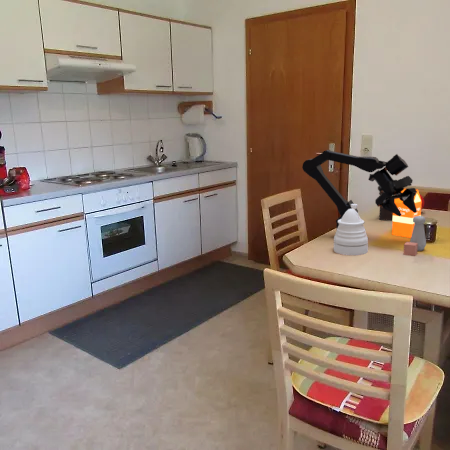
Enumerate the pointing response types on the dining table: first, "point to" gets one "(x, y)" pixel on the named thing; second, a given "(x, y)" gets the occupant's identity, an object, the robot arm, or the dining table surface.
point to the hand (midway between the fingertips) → (408, 214)
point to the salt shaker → (419, 232)
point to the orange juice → (405, 217)
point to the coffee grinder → (385, 211)
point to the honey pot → (351, 234)
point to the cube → (410, 248)
